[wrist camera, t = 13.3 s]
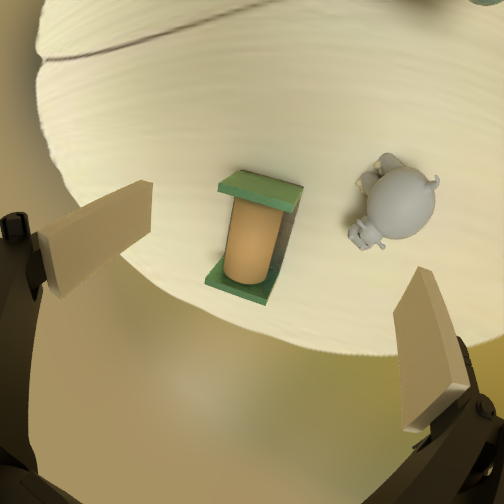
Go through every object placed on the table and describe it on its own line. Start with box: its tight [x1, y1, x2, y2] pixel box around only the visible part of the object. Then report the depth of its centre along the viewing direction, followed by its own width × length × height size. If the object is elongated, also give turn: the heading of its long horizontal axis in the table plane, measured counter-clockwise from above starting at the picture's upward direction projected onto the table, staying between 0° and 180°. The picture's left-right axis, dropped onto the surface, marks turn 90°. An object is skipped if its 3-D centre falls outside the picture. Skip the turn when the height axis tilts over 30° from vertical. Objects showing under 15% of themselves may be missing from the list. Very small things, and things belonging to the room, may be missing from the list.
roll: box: [223, 197, 284, 284], centre depth 44 cm, size 12×7×7 cm, turn 169°
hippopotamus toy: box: [348, 153, 440, 251], centre depth 36 cm, size 11×15×10 cm
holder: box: [205, 170, 304, 306], centre depth 44 cm, size 16×10×9 cm, turn 169°
